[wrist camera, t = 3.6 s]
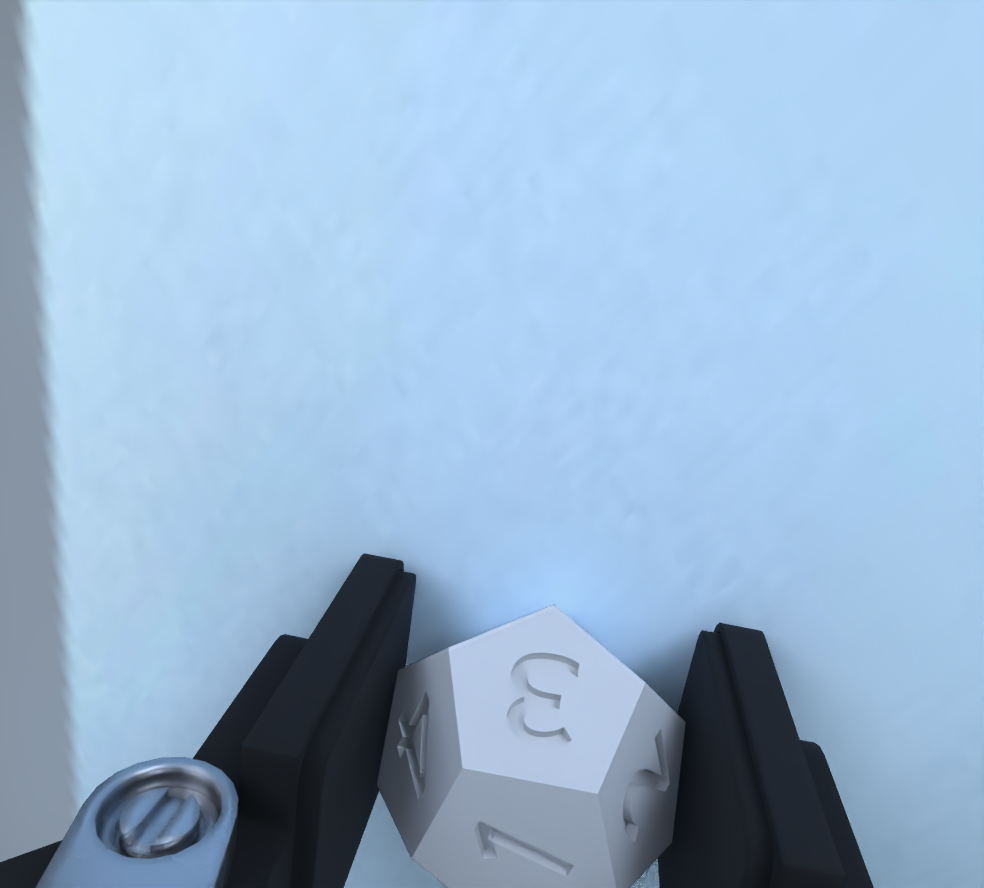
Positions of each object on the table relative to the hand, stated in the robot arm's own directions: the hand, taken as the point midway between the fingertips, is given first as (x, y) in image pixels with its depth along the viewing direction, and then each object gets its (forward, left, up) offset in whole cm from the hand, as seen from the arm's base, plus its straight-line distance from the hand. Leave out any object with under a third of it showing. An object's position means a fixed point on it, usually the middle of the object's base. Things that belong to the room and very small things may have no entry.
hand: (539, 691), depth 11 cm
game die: (0, 0, 0) cm, 0 cm away
